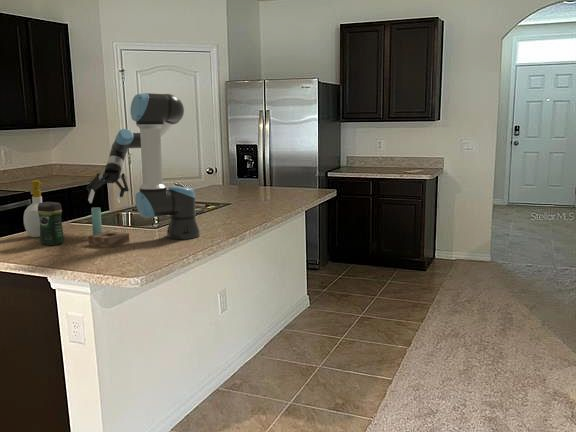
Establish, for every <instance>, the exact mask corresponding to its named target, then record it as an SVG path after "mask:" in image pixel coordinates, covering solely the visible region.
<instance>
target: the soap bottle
mask: <svg viewBox="0 0 576 432" xmlns="http://www.w3.org/2000/svg"><path fill="white" fill-rule="evenodd" d="M40 185H41V186H43V183H42V182H41V181H40V180H35V179H34V180H31V186H32V197H31V200H32V201H31V202H32V203H31V204H29V205H27V207H26V209H25V210H24V212H23V226H24V229H25V231H26V233H27V234H28V236H29V237H30V238H40V218H39V214H38V204H39V203H43V196H42V193H41V192H42V190H41V189H40Z"/></svg>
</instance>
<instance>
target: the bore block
mask: <svg viewBox="0 0 576 432" xmlns="http://www.w3.org/2000/svg"><path fill="white" fill-rule="evenodd" d="M87 236H88V238H87V239H88V246H92V247H101V248H109V249H111V248H114V247H118V246H120V245H121V246H122V245H125V244H127V243H130V233H128V232H120V231H109V230H107V231H102V233H99V234H95V235H93V234H91V235H87Z"/></svg>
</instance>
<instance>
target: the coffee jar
mask: <svg viewBox="0 0 576 432" xmlns="http://www.w3.org/2000/svg"><path fill="white" fill-rule="evenodd" d="M62 212H63V210H62V205H61V203H60V202H56V201H55V202H54V201H44V202H43V201H42V203H39V204H38V214H39V218H40V237H39V238H40V239H39V243H40V244H41V245H45V246H56V245H62V244H64V242H65V235H64V229H63V223H62Z"/></svg>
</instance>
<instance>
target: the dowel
mask: <svg viewBox="0 0 576 432" xmlns="http://www.w3.org/2000/svg"><path fill="white" fill-rule="evenodd" d="M90 211H91V212H90V213H91V225H92V235H95V234H99V233H103V230H102V229H103V228H102V226H103V225H102V213H101V212H102V211H101V207H91V210H90Z"/></svg>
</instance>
